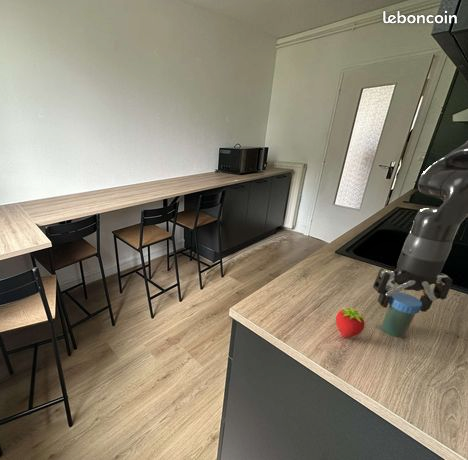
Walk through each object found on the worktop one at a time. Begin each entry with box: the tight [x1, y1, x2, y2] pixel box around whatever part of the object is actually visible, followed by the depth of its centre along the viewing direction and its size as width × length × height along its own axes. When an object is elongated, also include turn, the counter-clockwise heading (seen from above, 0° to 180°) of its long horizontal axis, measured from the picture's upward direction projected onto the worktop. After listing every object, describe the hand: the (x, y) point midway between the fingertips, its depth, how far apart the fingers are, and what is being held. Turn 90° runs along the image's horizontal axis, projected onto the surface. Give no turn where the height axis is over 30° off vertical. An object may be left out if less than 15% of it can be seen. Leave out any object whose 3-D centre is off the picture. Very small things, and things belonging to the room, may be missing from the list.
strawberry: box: [335, 306, 367, 339], centre depth 65 cm, size 6×8×10 cm
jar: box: [380, 303, 416, 339], centre depth 66 cm, size 5×5×10 cm
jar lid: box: [388, 291, 422, 315], centre depth 64 cm, size 6×6×2 cm
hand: (401, 307), depth 66 cm, fingers open, 8 cm apart
